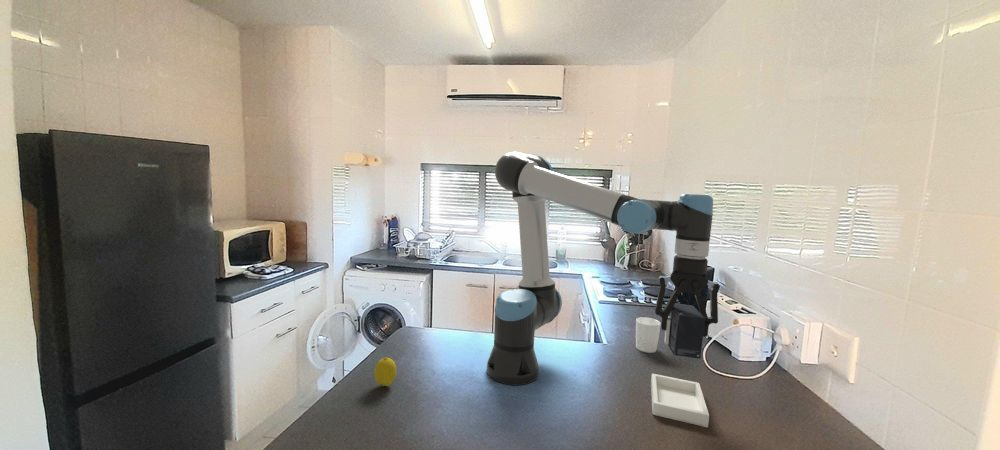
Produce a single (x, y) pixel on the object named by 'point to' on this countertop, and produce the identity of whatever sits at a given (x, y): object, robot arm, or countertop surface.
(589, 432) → the countertop surface
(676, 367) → the countertop surface
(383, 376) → the lemon
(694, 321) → the small box
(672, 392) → the parts tray
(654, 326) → the white cup
